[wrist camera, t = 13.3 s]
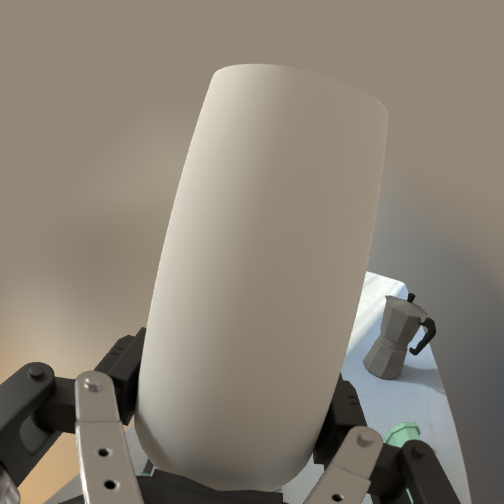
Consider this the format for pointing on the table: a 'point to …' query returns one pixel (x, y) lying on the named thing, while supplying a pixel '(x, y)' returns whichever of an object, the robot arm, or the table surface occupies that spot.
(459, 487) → the table surface
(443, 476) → the robot arm
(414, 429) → the container
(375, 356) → the coffeepot
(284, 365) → the champagne flute
